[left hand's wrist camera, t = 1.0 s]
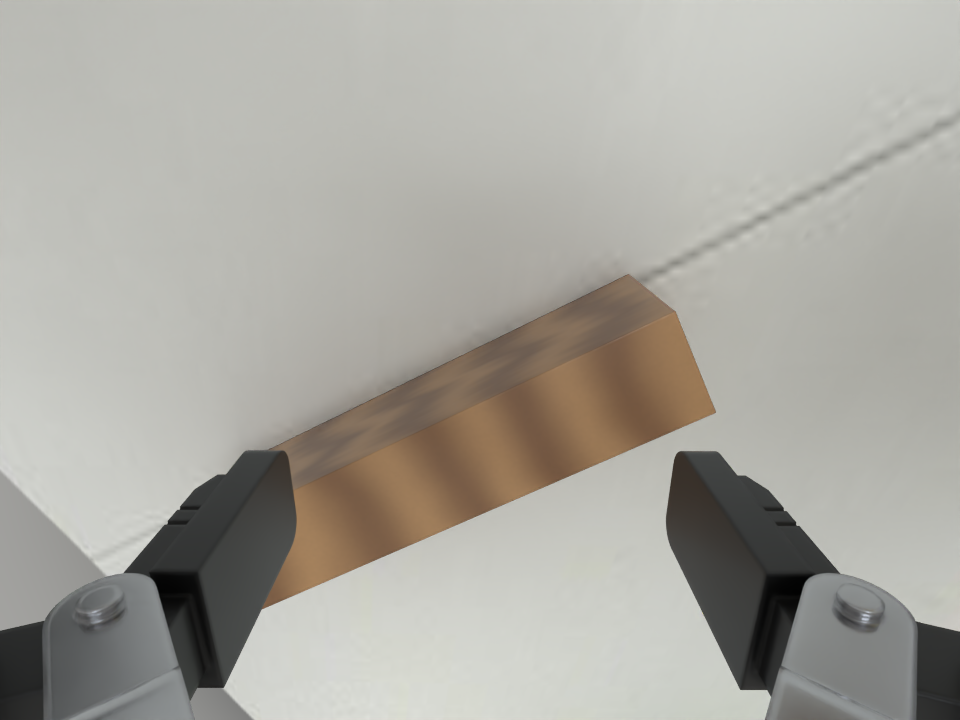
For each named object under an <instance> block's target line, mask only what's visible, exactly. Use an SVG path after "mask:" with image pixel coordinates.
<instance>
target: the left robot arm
mask: <svg viewBox="0 0 960 720" xmlns="http://www.w3.org/2000/svg"><path fill="white" fill-rule="evenodd" d="M296 525H297V515H296V507H295V500H294V493H293V486H292V478H291V471H290V464H289V459H288V456H287V453H286V452H285V451H283V450H248V451H245V452H244V453H243V454H242V455H241V456H240V458H239V459H238V460H237V461H236V463H235V464H234V465H233V467H232V468H231V469H230V470H229V472H228V473H227V474H226V475H216V476H215V477H213V478H212V479H210V480H209V481H207V482H206V483H204V484H202V485H201V486H199V487H198V488H196V489H195V490H194V491H193V492H192V493H191V494H190V496H189V497H188V498H187V499H186V500H185V502H184V503H183V504H182V505H181V506H180V510H177V511H176V512H175V513H174V514H173V516H172V517H171V518H170V519H169V520H168V524H167V525H164V526H163V527H162V528H161V530H160V531H159V532H158V533H157V534H156V535H155V537H154V538H153V539H152V540H151V541H150V543H149V544H148V545H147V546H146V547H145V548H144V550H143V551H142V552H141V553H140V554H139V555H138V557H137V558H136V559H135V560H134V561H133V562H132V564H131V565H130V566H129V567H128V568H127V569H126V571H125V572H124V573H123V574H116V575H112V576H107V577H104V578H101V579H98V580H96V581H93V582H91V583H88V584H87V585H84V586H83V587H81V588H79V589H77V590H75V591H74V592H72V593H71V594H69V595H68V596H66V597H65V598H64V599H63V600H61V601H60V602H59V603H58V604H57V605H56V606H55V607H54V608H53V609H52V610H51V611H50V613H49V614H48V616H47V617H46V619H45V621H42V622H37V623H33V624H28V625H24V626H20V627H15V628H11V629H6V630H2V631H0V720H195V717H194V714H193V710H192V707H191V704H190V700H191V698H192V696H193V695H194V693H195V691H196V689H197V688H224V686H225V684H226V682H227V680H228V678H229V676H230V674H231V672H232V670H233V668H234V666H235V664H236V661H237V659H238V657H239V655H240V653H241V651H242V649H243V647H244V645H245V643H246V641H247V639H248V637H249V634H250V632H251V630H252V628H253V626H254V624H255V622H256V620H257V618H258V616H259V614H260V612H261V609H262V607H263V605H264V603H265V601H266V599H267V597H268V595H269V593H270V591H271V589H272V587H273V585H274V582H275V580H276V578H277V576H278V574H279V572H280V570H281V568H282V566H283V564H284V562H285V560H286V557H287V555H288V553H289V551H290V549H291V547H292V545H293V542H294V538H295V533H296ZM666 529H667V535H668V540H669V543H670V546H671V549H672V551H673V553H674V555H675V557H676V559H677V561H678V563H679V565H680V567H681V569H682V571H683V573H684V575H685V577H686V579H687V581H688V583H689V585H690V588H691V590H692V592H693V594H694V596H695V598H696V600H697V602H698V604H699V606H700V608H701V610H702V612H703V614H704V616H705V618H706V620H707V622H708V625H709V627H710V629H711V631H712V633H713V635H714V637H715V639H716V641H717V643H718V645H719V647H720V649H721V651H722V653H723V655H724V657H725V659H726V661H727V664H728V666H729V668H730V670H731V672H732V674H733V676H734V678H735V680H736V682H737V684H738V686H739V688H740V690H768V692H769V694H770V696H771V700H770V703H769V707H768V710H767V714H766V717H765V720H960V632H959V631H954V630H950V629H945V628H941V627H937V626H932V625H928V624H923V623H920V622H916V621H915V619H914V617H913V616H912V614H911V613H910V611H909V610H908V609H907V608H906V607H905V606H904V605H903V604H902V603H901V602H900V601H899V600H898V599H896V598H895V597H894V596H892V595H891V594H889V593H888V592H886V591H885V590H883V589H881V588H879V587H877V586H876V585H874V584H872V583H869V582H867V581H864V580H862V579H859V578H856V577H853V576H848V575H844V574H840V573H839V572H838V570H837V569H836V568H835V567H834V566H833V565H832V563H831V562H830V561H829V560H828V559H827V558H826V556H825V555H824V554H823V553H822V552H821V551H820V549H819V548H818V547H817V546H816V545H815V544H814V543H813V541H812V540H811V539H810V538H809V537H808V536H807V534H806V533H805V532H804V531H803V530H802V529H801V527H800V526H796V522H795V520H794V519H793V518H792V517H791V516H790V515H789V513H788V512H787V511H784V508H783V507H782V505H781V504H780V503H779V502H778V501H777V500H776V498H775V497H774V496H773V495H772V494H771V493H770V491H769V490H767V489H766V488H764V487H762V486H761V485H759V484H758V483H756V482H755V481H753V480H752V479H750V478H748V477H747V476H737V474H736V473H735V472H734V471H733V470H732V468H731V467H730V466H729V465H728V463H727V462H726V461H725V460H724V458H723V457H722V456H721V455H720V454H719V453H718V452H716V451H680V452H678V453H677V454H676V456H675V459H674V464H673V471H672V479H671V486H670V493H669V500H668V507H667V514H666Z"/></svg>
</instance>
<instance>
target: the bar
mask: <svg viewBox="0 0 960 720" xmlns="http://www.w3.org/2000/svg"><path fill="white" fill-rule="evenodd" d="M714 413H716V411H715V409H714V406H713V404H712V401H711V399H710V396H709V394H708V391H707V389H706V386H705V384H704V381H703V379H702V376H701V374H700V371H699V369H698V366H697V364H696V361H695V359H694V356H693V354H692V351H691V349H690V347H689V344H688V342H687V339H686V337H685V334H684V332H683V329H682V327H681V324H680V322H679V319H678V317H677V314H676V312H675V311H674V310H673V309H672V308H670V307H669V306H668V305H667V304H665V303H664V302H663V301H662V300H660V299H659V298H658V297H657V296H655V295H654V294H653V293H652V292H650V291H649V290H648V289H647V288H645V287H644V286H643V285H642V284H640V283H639V282H638V281H637V280H635V279H634V278H633V277H632V276H630V275H629V274H628V275H626V276H624V277H622V278H620V279H618V280H616V281H614V282H612V283H610V284H608V285H606V286H604V287H602V288H600V289H598V290H595V291H593V292H591V293H589V294H587V295H585V296H583V297H581V298H579V299H577V300H575V301H573V302H571V303H569V304H567V305H565V306H563V307H561V308H559V309H557V310H554V311H552V312H550V313H548V314H546V315H544V316H542V317H540V318H538V319H536V320H534V321H532V322H530V323H528V324H526V325H524V326H522V327H520V328H518V329H516V330H513V331H511V332H509V333H507V334H505V335H503V336H501V337H499V338H497V339H495V340H493V341H491V342H489V343H487V344H485V345H483V346H481V347H479V348H477V349H475V350H472V351H470V352H468V353H466V354H464V355H462V356H460V357H458V358H456V359H454V360H452V361H450V362H448V363H446V364H444V365H442V366H440V367H438V368H436V369H434V370H431V371H429V372H427V373H425V374H423V375H421V376H419V377H417V378H415V379H413V380H411V381H409V382H407V383H405V384H403V385H401V386H399V387H397V388H395V389H393V390H390V391H388V392H386V393H384V394H382V395H380V396H378V397H376V398H374V399H372V400H370V401H368V402H366V403H364V404H362V405H360V406H358V407H356V408H354V409H352V410H349V411H347V412H345V413H343V414H341V415H339V416H337V417H335V418H333V419H331V420H329V421H327V422H325V423H323V424H321V425H319V426H317V427H315V428H313V429H310V430H308V431H306V432H304V433H302V434H300V435H298V436H296V437H294V438H292V439H290V440H288V441H286V442H284V443H282V444H280V445H278V446H276V447H274V448H272V449H269V450H283V451H285V452H286V453H287V456H288V459H289V464H290V471H291V478H292V486H293V493H294V500H295V507H296V515H297V525H296V533H295V538H294V542H293V545H292V547H291V549H290V551H289V553H288V555H287V557H286V560H285V562H284V564H283V566H282V568H281V570H280V572H279V574H278V576H277V578H276V580H275V582H274V585H273V587H272V589H271V591H270V593H269V595H268V597H267V599H266V601H265V603H264V605H263V607H262V609H264V608H266V607H268V606H271V605H273V604H275V603H278V602H280V601H282V600H285V599H287V598H289V597H291V596H294V595H296V594H298V593H301V592H303V591H305V590H308V589H310V588H312V587H315V586H317V585H319V584H321V583H324V582H326V581H328V580H331V579H333V578H335V577H338V576H340V575H342V574H345V573H347V572H349V571H351V570H354V569H356V568H358V567H361V566H363V565H365V564H368V563H370V562H372V561H375V560H377V559H379V558H381V557H384V556H386V555H388V554H391V553H393V552H395V551H398V550H400V549H402V548H405V547H407V546H409V545H411V544H414V543H416V542H418V541H421V540H423V539H425V538H428V537H430V536H432V535H435V534H437V533H439V532H441V531H444V530H446V529H448V528H451V527H453V526H455V525H458V524H460V523H462V522H465V521H467V520H469V519H472V518H474V517H476V516H478V515H481V514H483V513H485V512H488V511H490V510H492V509H495V508H497V507H499V506H502V505H504V504H506V503H508V502H511V501H513V500H515V499H518V498H520V497H522V496H525V495H527V494H529V493H532V492H534V491H536V490H538V489H541V488H543V487H545V486H548V485H550V484H552V483H555V482H557V481H559V480H562V479H564V478H566V477H568V476H571V475H573V474H575V473H578V472H580V471H582V470H585V469H587V468H589V467H592V466H594V465H596V464H598V463H601V462H603V461H605V460H608V459H610V458H612V457H615V456H617V455H619V454H622V453H624V452H626V451H628V450H631V449H633V448H635V447H638V446H640V445H642V444H645V443H647V442H649V441H652V440H654V439H656V438H658V437H661V436H663V435H665V434H668V433H670V432H672V431H675V430H677V429H679V428H682V427H684V426H686V425H688V424H691V423H693V422H695V421H698V420H700V419H702V418H705V417H707V416H709V415H712V414H714Z"/></svg>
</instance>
